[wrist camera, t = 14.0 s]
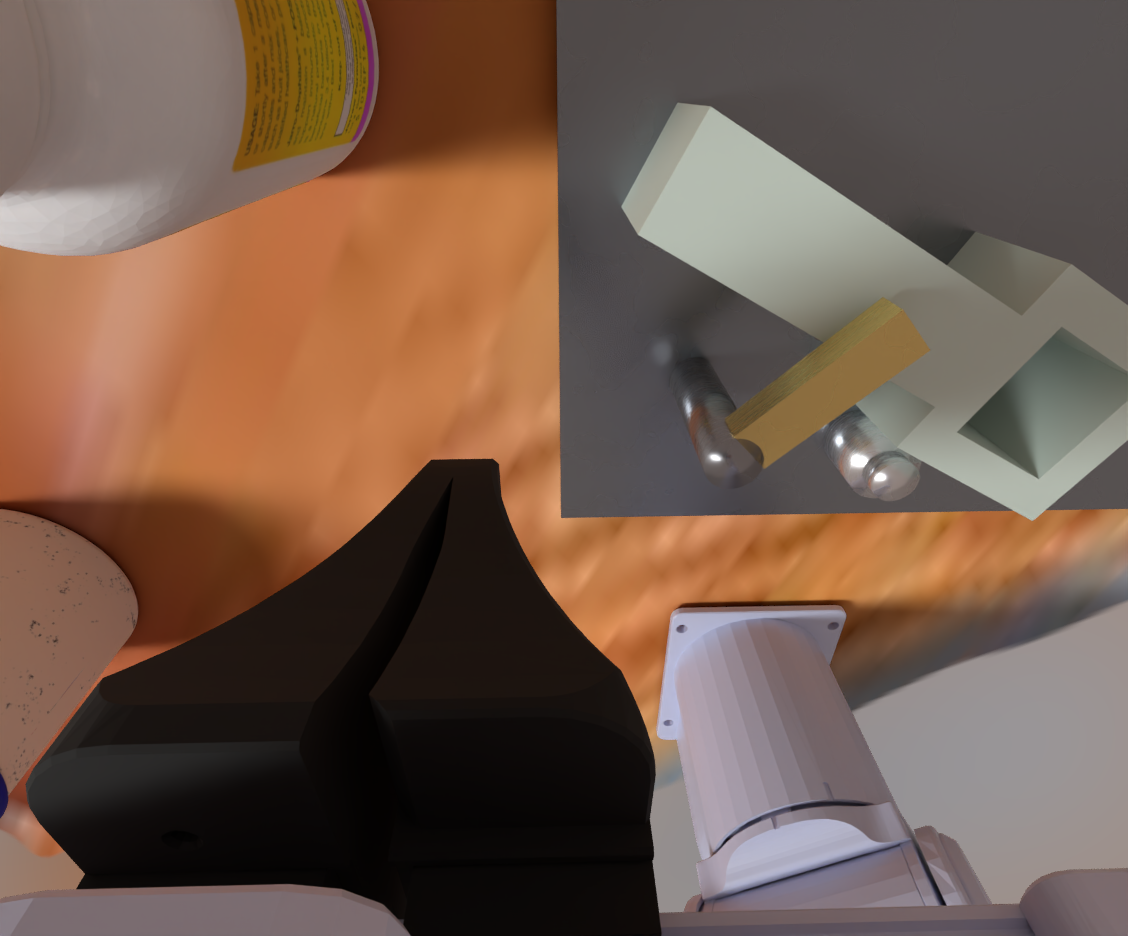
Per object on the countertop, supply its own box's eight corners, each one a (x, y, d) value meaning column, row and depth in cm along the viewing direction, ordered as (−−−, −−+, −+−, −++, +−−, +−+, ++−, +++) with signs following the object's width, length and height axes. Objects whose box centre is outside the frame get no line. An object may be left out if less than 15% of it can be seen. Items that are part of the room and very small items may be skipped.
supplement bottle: (255, -199, 14) (-888, -1309, 3) (434, 95, 17) (223, 109, 6) (67, -7, 15) (-1082, -233, 5) (261, 226, 19) (-149, 424, 8)
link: (1101, 320, 20) (1213, 367, 17) (961, 456, 23) (1032, 520, 19) (709, 43, 16) (753, 31, 12) (596, 253, 19) (606, 289, 15)
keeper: (831, 282, 20) (932, 353, 15) (685, 400, 22) (727, 499, 17) (804, 246, 19) (901, 306, 14) (656, 371, 21) (691, 464, 16)
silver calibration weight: (872, 456, 23) (921, 511, 20) (811, 457, 23) (850, 512, 20) (890, 400, 22) (944, 450, 19) (825, 401, 22) (869, 451, 19)
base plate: (1140, 499, 25) (1152, 508, 24) (561, 508, 24) (561, 517, 24) (1471, -30, 16) (1502, -34, 15) (556, -27, 15) (556, -31, 15)
